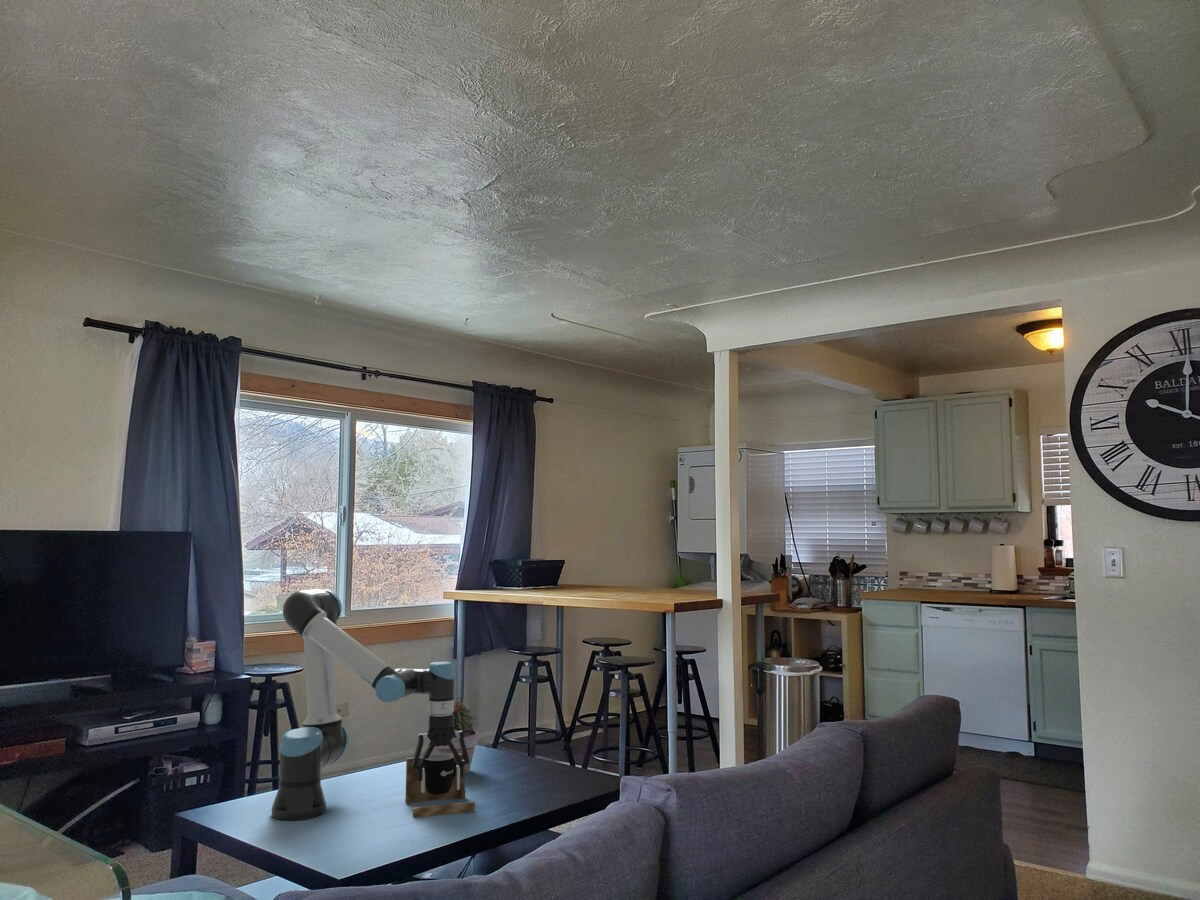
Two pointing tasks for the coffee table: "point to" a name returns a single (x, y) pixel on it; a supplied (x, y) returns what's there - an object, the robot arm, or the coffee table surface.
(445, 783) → the mug
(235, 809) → the coffee table surface
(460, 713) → the potted plant
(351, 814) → the coffee table surface
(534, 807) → the coffee table surface
